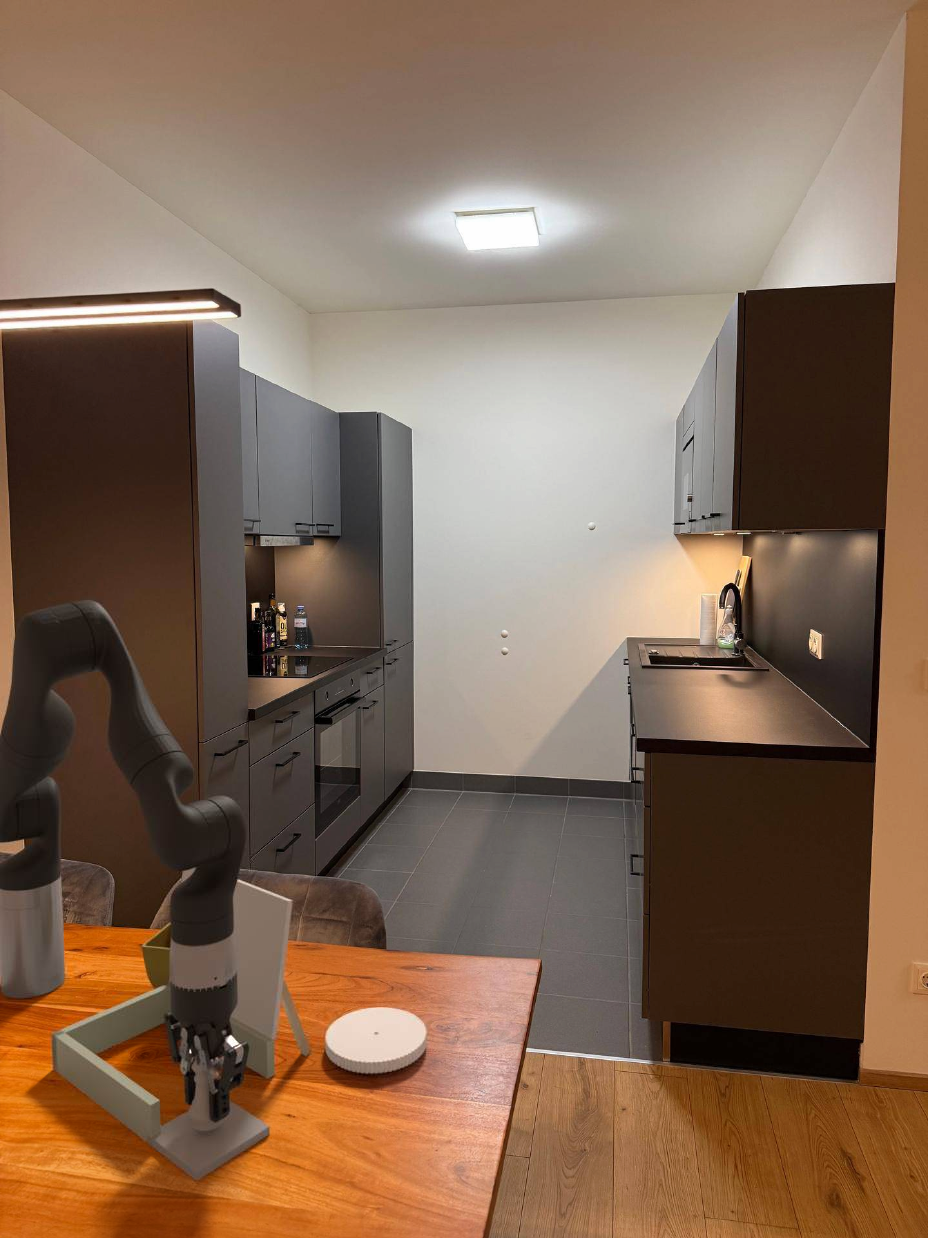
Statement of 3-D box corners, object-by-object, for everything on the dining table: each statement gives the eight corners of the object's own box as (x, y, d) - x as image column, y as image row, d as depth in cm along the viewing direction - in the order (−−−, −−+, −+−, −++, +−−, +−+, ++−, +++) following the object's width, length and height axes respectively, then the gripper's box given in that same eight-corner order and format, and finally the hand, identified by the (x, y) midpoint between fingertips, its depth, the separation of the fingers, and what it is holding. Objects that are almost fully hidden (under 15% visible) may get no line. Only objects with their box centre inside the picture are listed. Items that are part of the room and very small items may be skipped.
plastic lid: (330, 1087, 115) (329, 1069, 115) (321, 1030, 129) (321, 1013, 128) (435, 1073, 118) (435, 1054, 118) (416, 1018, 132) (416, 1002, 132)
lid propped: (169, 983, 132) (165, 866, 130) (191, 973, 135) (188, 859, 133) (271, 1040, 117) (269, 909, 115) (295, 1028, 120) (292, 899, 118)
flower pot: (194, 1008, 134) (192, 950, 134) (141, 1002, 136) (140, 945, 135) (221, 980, 143) (219, 926, 142) (171, 975, 145) (170, 921, 144)
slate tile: (147, 1142, 104) (146, 1134, 104) (219, 1101, 112) (219, 1093, 112) (196, 1181, 98) (196, 1172, 98) (269, 1134, 105) (269, 1126, 105)
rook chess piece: (234, 1114, 106) (233, 1050, 105) (212, 1137, 102) (210, 1071, 101) (202, 1106, 108) (201, 1043, 107) (179, 1129, 103) (177, 1063, 103)
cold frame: (53, 1070, 119) (49, 981, 118) (209, 998, 137) (207, 921, 136) (151, 1147, 103) (148, 1046, 102) (312, 1054, 122) (310, 968, 121)
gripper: (140, 963, 105) (145, 1101, 106) (212, 1003, 96) (216, 1153, 97) (195, 941, 110) (199, 1072, 112) (268, 977, 101) (271, 1119, 103)
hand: (207, 1109), depth 105 cm, fingers closed on rook chess piece, 4 cm apart
